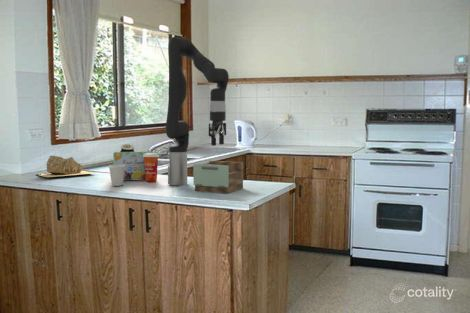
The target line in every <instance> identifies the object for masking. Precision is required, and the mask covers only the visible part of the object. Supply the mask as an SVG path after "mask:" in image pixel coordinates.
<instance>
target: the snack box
mask: <svg viewBox="0 0 470 313" xmlns="http://www.w3.org/2000/svg"><path fill="white" fill-rule="evenodd" d="M146 153H154V152H153V151H135V152H120V151H117V152H116V151H114V152H113V154H112V155H113V158H112V159H113V165H125V170H124V180H123V181H126V180H128V181H129V180H132V181H133V180H145V167H144V157H143V156H144V154H146Z"/></svg>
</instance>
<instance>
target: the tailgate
mask: <svg viewBox="0 0 470 313" xmlns="http://www.w3.org/2000/svg"><path fill="white" fill-rule="evenodd" d="M192 166H193V167H192V168H193V174H192V175H193V177H192V178H193V186H195V185H196V186H200V187H202V186H214V187H218V188H225V187H229V166H226V165H209V164H205V163H204V164H203V163H202V164H201V163H193V165H192Z"/></svg>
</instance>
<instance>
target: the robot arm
mask: <svg viewBox="0 0 470 313" xmlns="http://www.w3.org/2000/svg"><path fill="white" fill-rule="evenodd" d="M167 52H168V64H169V66H168V67H169V71H168V74H169V75H168V101H167V114H166V122H165V134H166V136H167V138H168V139H170V140H175V141H174V142H173V143H172V144H171V145H170V146H169V147H168V149H169V150H168V151H169V153H168V156H169V157H168V158H169V160H168V161H169V166H167V185H170V186H185V185H188V147H189V143H190V142H189V140H190V127H189V125H188V123H187V122H186V121H184V120H179V115H180V110H181V108H182V106H183V104H184V103H185V100H186V98H187V94H188V93H187V92H188V91H187V90H188V89H187V88H188V87H187V86H188V84H187V82H188V81H187V79H186V76H185V75H184V73H183V70H182V67H181V63H180V62H181V60H180V58H181V57H186V58H188V59H190V60H191V61H192V63H193V66H194V67H195V68H196V69H197V70H198V71H199V72H200V73H201V74H203V76H204V78H205V79H206V80H207V81H208V82H209V83H211V84H216V86H215V88H212V89H210V98H209V99H210V101H209V121H210V122H212V123H208V136H209V137H210V138H211V139H210V140H211V141H210V145H211V146H212V147H213V146H216V145H217V135H218V136H219V138H218V144H219V145H224V144H225V141H224V140H225V139H224V138H225V136H226V135H227V123H226V122H224V121H226V112H227V111H226V110H227V107H226V106H227V105H226V91H227V87H228V83H229V71H228V70H226V69H225V68H220V67H216V66H215V63H214V62H212V60H210V59H209V58H207V57H206V56H204V54H203V53H201V52H200V50H199V49H198V48H197V47H196V45H194V43H193V42H192V41H191V40H190V39H189V38H186V37H185V38H184V37H178V36H172V37H171V38H170V39H169V42H168V47H167Z"/></svg>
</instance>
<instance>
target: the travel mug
mask: <svg viewBox="0 0 470 313" xmlns="http://www.w3.org/2000/svg"><path fill="white" fill-rule="evenodd" d="M120 148H121V150H120V151H119V152H136V151H135V145H133V144H131V143H124V144H121V145H120Z"/></svg>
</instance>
